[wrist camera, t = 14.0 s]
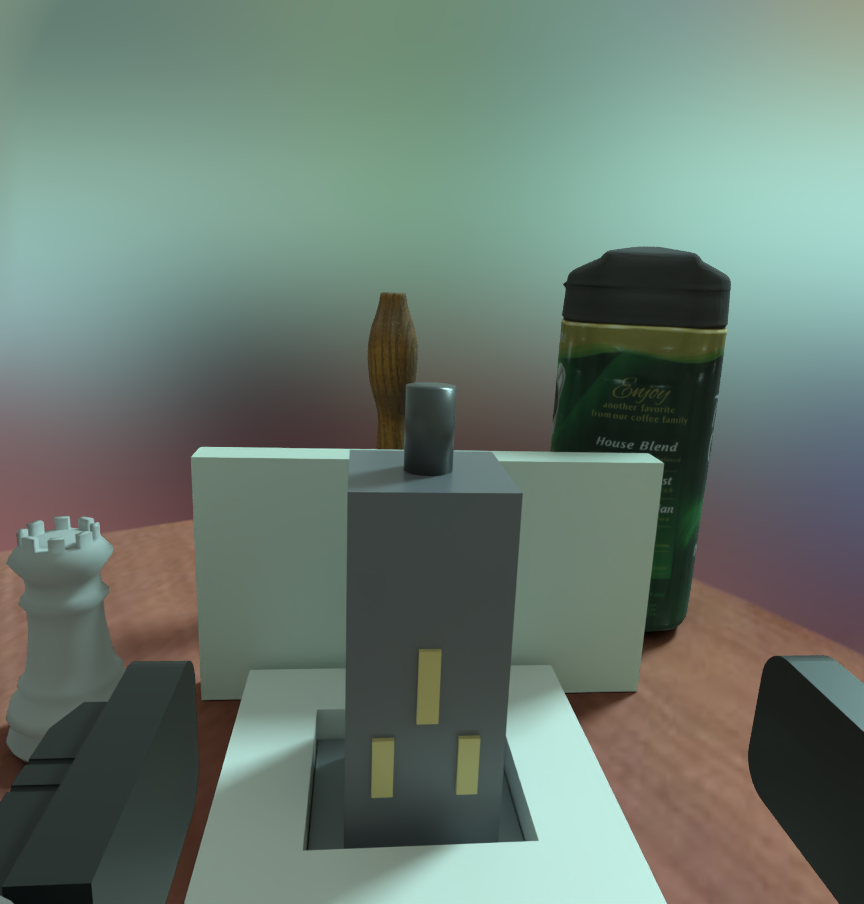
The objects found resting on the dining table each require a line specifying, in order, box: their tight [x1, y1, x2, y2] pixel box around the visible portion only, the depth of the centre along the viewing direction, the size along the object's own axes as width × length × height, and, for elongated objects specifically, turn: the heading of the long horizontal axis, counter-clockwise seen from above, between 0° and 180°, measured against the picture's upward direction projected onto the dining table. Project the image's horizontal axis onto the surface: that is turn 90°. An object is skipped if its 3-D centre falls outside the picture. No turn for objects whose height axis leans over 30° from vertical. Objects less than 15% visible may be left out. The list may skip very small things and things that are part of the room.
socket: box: [184, 447, 667, 904], centre depth 23 cm, size 18×14×10 cm
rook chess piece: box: [6, 516, 126, 763], centre depth 25 cm, size 4×4×8 cm
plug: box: [344, 382, 523, 849], centre depth 21 cm, size 4×5×13 cm
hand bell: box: [368, 292, 418, 450], centre depth 38 cm, size 8×8×16 cm
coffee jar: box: [550, 247, 731, 632], centre depth 37 cm, size 10×8×19 cm
